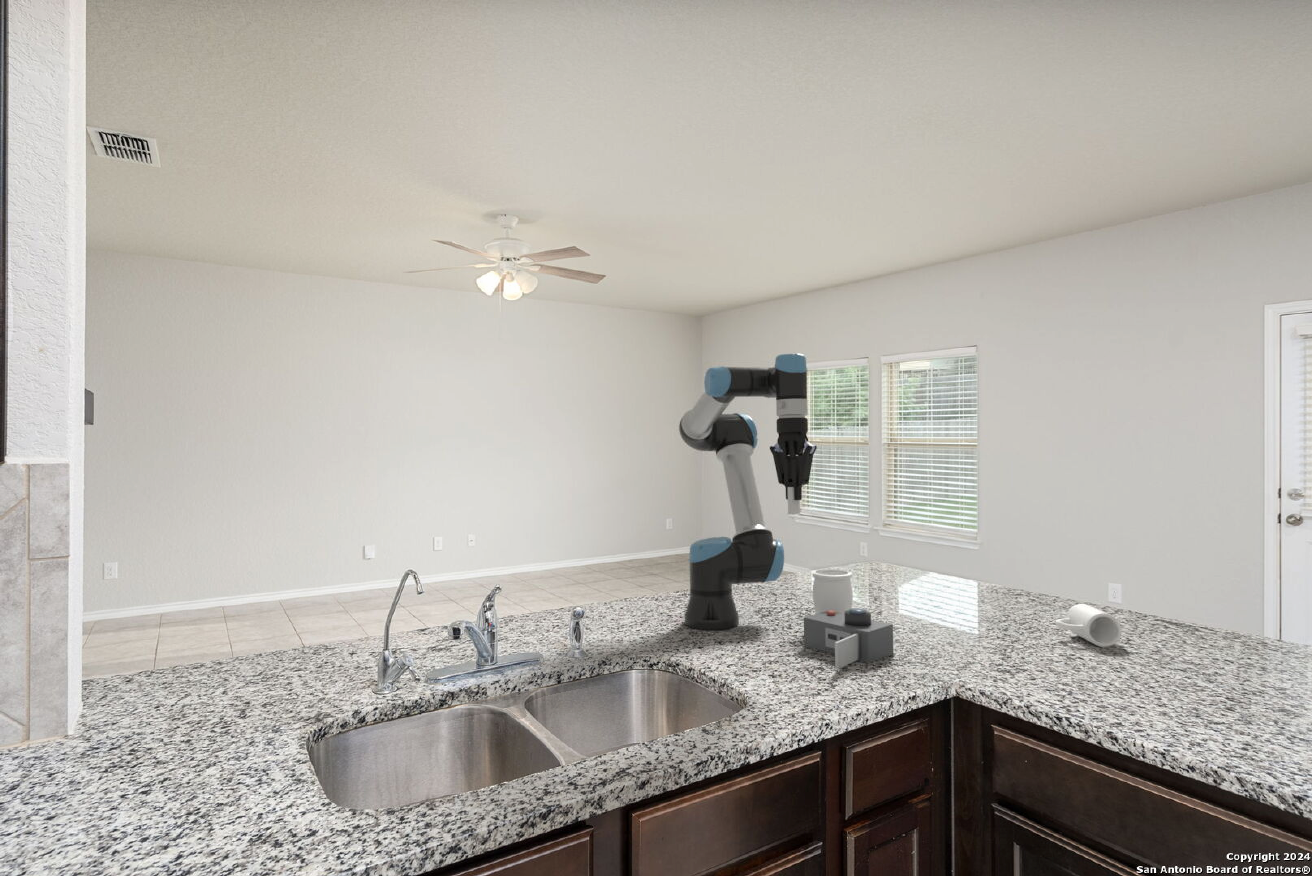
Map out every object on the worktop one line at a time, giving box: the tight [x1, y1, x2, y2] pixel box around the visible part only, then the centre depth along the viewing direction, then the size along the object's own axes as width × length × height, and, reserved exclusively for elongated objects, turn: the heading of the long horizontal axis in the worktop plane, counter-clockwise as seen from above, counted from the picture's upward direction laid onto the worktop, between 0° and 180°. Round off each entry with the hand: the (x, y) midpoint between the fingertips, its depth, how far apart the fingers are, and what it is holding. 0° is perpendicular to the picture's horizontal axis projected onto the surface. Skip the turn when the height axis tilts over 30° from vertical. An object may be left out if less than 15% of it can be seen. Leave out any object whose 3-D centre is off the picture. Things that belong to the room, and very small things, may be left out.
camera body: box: [803, 607, 894, 664], centre depth 160 cm, size 18×10×10 cm, turn 39°
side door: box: [834, 633, 859, 670], centre depth 148 cm, size 10×1×6 cm, turn 136°
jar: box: [811, 568, 854, 614], centre depth 179 cm, size 11×10×15 cm
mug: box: [1055, 603, 1123, 648], centre depth 164 cm, size 12×10×8 cm
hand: (794, 513), depth 164 cm, fingers closed
